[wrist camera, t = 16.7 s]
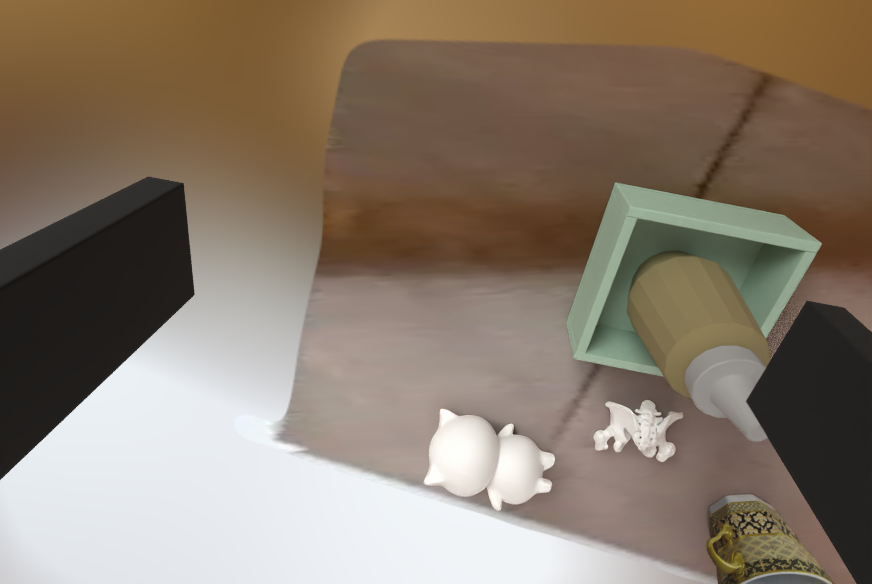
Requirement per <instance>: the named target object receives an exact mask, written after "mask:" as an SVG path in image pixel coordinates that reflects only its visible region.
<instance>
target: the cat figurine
mask: <svg viewBox="0 0 872 584" xmlns="http://www.w3.org/2000/svg"><path fill="white" fill-rule="evenodd" d="M513 430H514V425H513V424H508V425H506V426H505V427H504V428H503V429H502V430H501V431H500V432H499V433H498V435H496V432H495V430H494V429H493V427H492V426H491V425H490V423H489V422H488V421H486V420H485V419H483V418H481V417H479V416H475V415H464V416H457V415H456V414H454V413H452V412H451V411H449V410H446V409H441V410H440V421H439V427H438V430H437V431H436V433H435V434H434V436H433V438H432V440H431V443H430V447H429V460H430V467H429V471H428V473H427V475H426V478H425V480H424V484H426V485H432V486H433V485H441V486H443V487H444V488H446V489H447V490H448V491H449V492H451V493H453V494H455V495H458V496H462V497H468V496H473V495H475V494H478V493H479V492H481V491H482V490H483V489H484V488H485V487H487V490H488V494H489V498H490V501H491V503H492V506H493V507H494V508H495V509H496V510H497V511H499V510H501V507H502V501H504V502H506V503H509V504H521V503H524V502H526V501H527V500H529V499H530V498H531V497H532V496H533V495H534V494H536V493H546V492H549V491H550V489H551V487H552V483H551V481H550V480H548V479H545V478H543V471H545V470H546V469H548V468H550V467H551V466H553V464H554V462H555V457H554V455H553V454H551V453H547V452H543V451H541V450H540V449H539V448H538V447H537V445H536V444H535V443H534V442H533V441H532V440H531V439H530V438H528V437H526V436H522V435H513Z"/></svg>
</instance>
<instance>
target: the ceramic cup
mask: <svg viewBox="0 0 872 584" xmlns="http://www.w3.org/2000/svg"><path fill="white" fill-rule="evenodd" d="M708 525H709V531H710V537H711V539H709V540H708V542H707V544H706V548H707V551H708V554H709V556H710V558H711V559H712V561H713V563H714V564H715V565H716V567H717V580H718V584H834V583H833V582H832V580H831V579H830V577H829V576H828V575H827V573H826V572H825V571H824V570H823V568H822V567H821V566H820V564H819V563H818V562H817V561H816V559H815V558H814V557H813V556H812V555H811V554H810V553H809V551H808V550H807V549H806V548H805V547H804V546H803V545H802V543H801V542H800V540H799V539H798V538H797V537H796V535H795V534H794V533H793V532H792V530H791V529H790V528H789V527H788V525H787V524H786V523H785V522H784V520H783V519H782V518H781V516H780V515H779V514H778V513H777V512H776V510H775V509H774V508H773V507H772V506H771V505H770V504H768V503H766V502H765V501H763V500H761V499H760V498H758V497H756V496H754V495H753V494H745V495H730V496H724V497H723V498H722V499H720V500H719V501H717V502H716V503H714V504H713V505H711V506H710V507H709V511H708Z"/></svg>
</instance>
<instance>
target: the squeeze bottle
mask: <svg viewBox="0 0 872 584" xmlns="http://www.w3.org/2000/svg"><path fill="white" fill-rule="evenodd" d="M627 314H628V316H629V319H630V321H631V323H632V326H633V328H634V329H635V331H636V333H637V334H638V336H639V337H640V339H641V341H642V342H643V344H644V345H645V347H646V349H647V350H648V352H649V353H650V355H651V357H652V358H653V360H654V361H655V363H656V365H657V366H658V368H659V369H660V371H661V372H662V374H663V376H664V377H665V379H666V380H667V382H668V384H669V385H670V387H672V388H673V389H674V390H675V391H677V392H678V393H679V394H680V395H681V396H683V397H686V398H689V399H692V400H693V402H694V404H695V406H696V407H697V408H698V409H700V410H701V411H702V412H703V413H705V414H708V415H711V416H714V417H717V418H728V419H729V420H730V421H731V422H732V423H733V424H734V425H735V426H736V427H737V428H738V429H739V430H740V431H741V432H742V433H743V434H744V435H745V436H746V437H747V438H748V439H749V440H750V441H754V442H759V441H763V440H765V439H766V438H767V435H766V434H765V432H764V430H763V429H762V427H761V426H760V424H759V422H758V421H757V419H756V417H755V416H754V414H753V412H752V411H751V409H750V407H749V406H748V404H747V403H746V400H747V398H748V397H749V395H750V393H751V392H752V390H753V388H754V387H755V385H756V384H757V382H758V380H759V379H760V377H761V375H762V374H763V372H764V370H765V369H766V367H767V365H768V364H769V362H770V359H771V353H770V349H769V346H768V343H767V340H766V338H765V336H764V335H763V333H762V331H761V329H760V327H759V326H758V324H757V322H756V320H755V319H754V317H753V315H752V313H751V311H750V310H749V308H748V306H747V304H746V303H745V301H744V299H743V297H742V295H741V294H740V292H739V290H738V288H737V287H736V285H735V283H734V281H733V279H732V278H731V276H730V275H729V274H728V273H727V272H726V271H725V270H724V269H723V268H722V267H721V266H720V265H719V264H718V263H716V262H713V261H710V260H707V259H704V258H701V257H697V256H694V255H691V254H688V253H685V252H682V251H664V252H661V253H659V254H656V255H654V256H651V257H649V258H648V259H647V260H646V261H645V262H643V263H642V264H641V265H640V266H639V267H638V269H637V271H636V272H635V274H634V276H633V278H632V282H631V286H630V290H629V294H628V304H627Z"/></svg>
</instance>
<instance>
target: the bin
mask: <svg viewBox="0 0 872 584" xmlns="http://www.w3.org/2000/svg"><path fill="white" fill-rule="evenodd" d="M821 245H822V243H821V242H819V241H818V240H817V239H815V238H814V237H813V236H811V235H810V234H809V233H807V232H806V231H805V230H803V229H802V228H801V227H799V226H798V225H797V224H795V223H794V222H793V221H791V220H790V219H789V218H787V217H786V216H785V215H781V214H776V213H771V212H766V211H760V210H755V209H750V208H745V207H740V206H735V205H729V204H724V203H719V202H714V201H709V200H704V199H698V198H693V197H688V196H683V195H678V194H673V193H667V192H662V191H657V190H652V189H647V188H641V187H636V186H631V185H626V184H621V183H615V184H614V187H613V190H612V193H611V196H610V199H609V202H608V204H607V207H606V210H605V213H604V216H603V219H602V222H601V225H600V227H599V230H598V233H597V236H596V239H595V242H594V245H593V248H592V250H591V253H590V256H589V259H588V262H587V265H586V268H585V271H584V273H583V276H582V279H581V282H580V285H579V288H578V291H577V293H576V296H575V299H574V302H573V305H572V308H571V311H570V314H569V316H568V319H567V322H566V324H567V329H568V334H569V339H570V344H571V349H572V353H573V358H574V359H577V360H582V361H587V362H592V363H597V364H602V365H607V366H612V367H617V368H622V369H627V370H632V371H637V372H642V373H647V374H652V375H657V376H662V377H664V376H663V374H662V372H661V371H660V369H659V368H658V366H657V365H656V363H655V361H654V360H653V358H652V357H651V355H650V353H649V352H648V350H647V349H646V347H645V345H644V344H643V342H642V341H641V339H640V337H639V336H638V334H637V333H636V331H635V329H634V328H633V326H632V323H631V321H630V319H629V316H628V314H627V304H628V294H629V290H630V286H631V282H632V278H633V276H634V274H635V272H636V271H637V269H638V267H639V266H640V265H641V264H642V263H643V262H645V261H646V260H647V259H648V258H649V257H651V256H654V255H656V254H659V253H661V252H664V251H682V252H685V253H688V254H691V255H694V256H697V257H701V258H704V259H707V260H710V261H713V262H716V263H718V264H719V265H720V266H721V267H722V268H723V269H724V270H725V271H726V272H727V273H728V274H729V275H730V276H731V278H732V279H733V281H734V283H735V285H736V287H737V288H738V290H739V292H740V294H741V295H742V297H743V299H744V301H745V303H746V304H747V306H748V308H749V310H750V311H751V313H752V315H753V317H754V319H755V320H756V322H757V324H758V326H759V327H760V329H761V331H762V333H763V335H764V336H765V338H767V336H768V334H769V333H770V331H771V329H772V328H773V326H774V324H775V323H776V321H777V319H778V318H779V316H780V314H781V313H782V311H783V309H784V308H785V306H786V304H787V302H788V301H789V299H790V297H791V296H792V294H793V292H794V291H795V289H796V287H797V286H798V284H799V282H800V281H801V279H802V277H803V276H804V274H805V272H806V271H807V269H808V267H809V265H810V264H811V262H812V260H813V259H814V257H815V255H816V253H817V252H818V250H819V248H820V247H821Z"/></svg>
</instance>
